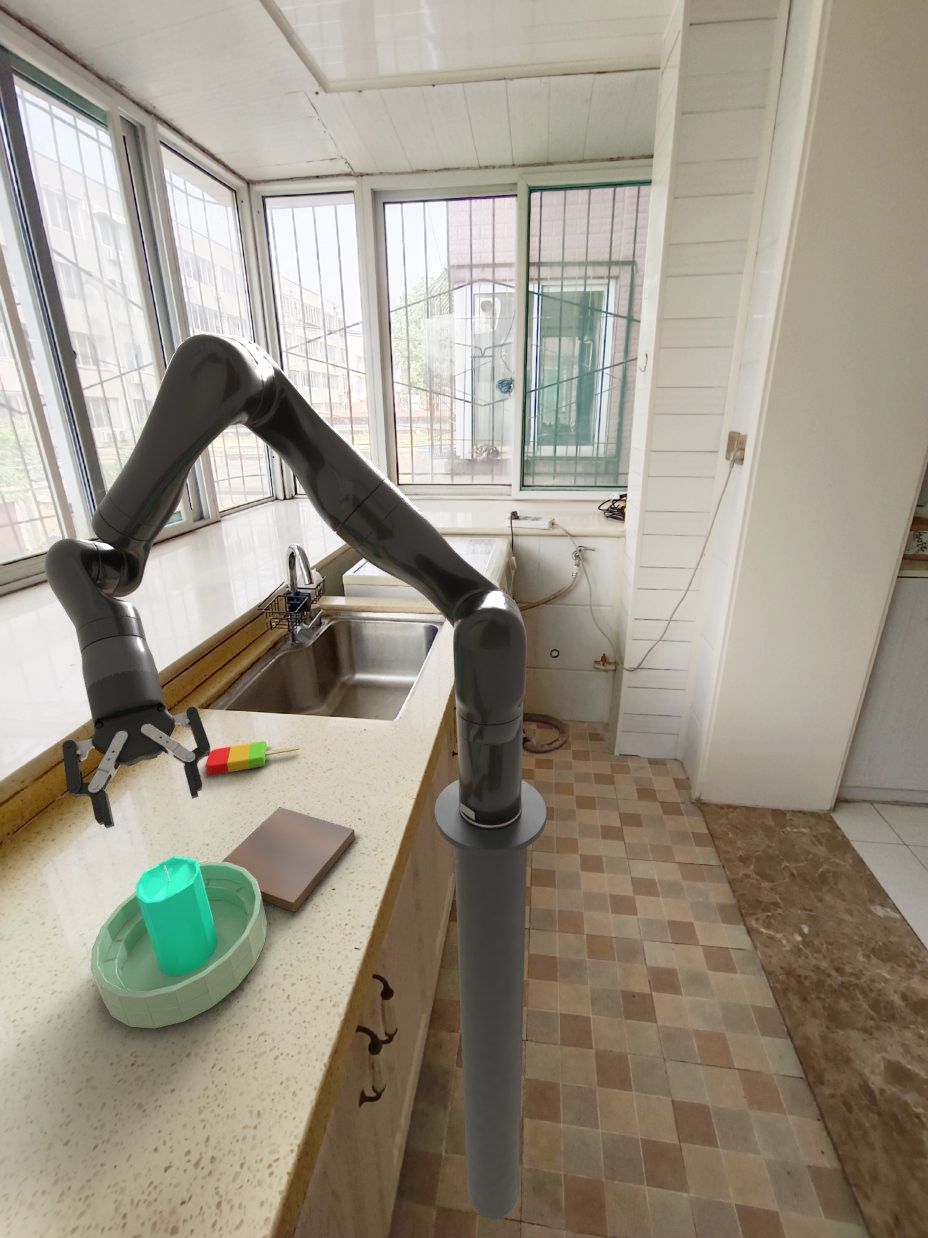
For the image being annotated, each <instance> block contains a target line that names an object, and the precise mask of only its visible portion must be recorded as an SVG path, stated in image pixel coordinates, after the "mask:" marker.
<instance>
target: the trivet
mask: <svg viewBox="0 0 928 1238" xmlns="http://www.w3.org/2000/svg"><path fill="white" fill-rule="evenodd" d="M355 839H356V832H355V829H354V828H352V827H351V828H350V827H348V826H345V825H341V824H337V823H335V822H332V821H329V820H324V819H321V818H318V817H315V816H311V815H308V814H305V813H301V812H298V811H294V810H291V809H288V808H284V807H282V806H279V807H277V809H276V810H275V811H273V812H272V813H271V814H270V815H269V816H268V817H267V818H266V819H265V820H264V821H263V822H262V823H260V825H259V826H258V827H256V828H255V829H254V831H252V832H251V833H249V835H248V836H247V837H246V838H245V839H244V840H243V841H242V842H241V843H240V844H238V846H236V847H235V849H233V850H232V851H231V852H230V853H229V854H228V855H227V856H226V857H225V858H224V859H223V860H222V861H221V862H228V863H231V864H234V865H237V866H239V867H242V868H245V869H246V870H247V871H248V872H249V873H250V874H251V875H252V876H253V877H254V878H255V879H256V880H257V883H258V886H259V890H260V893H261V896H262V901H263V902H267V903H269V904H272V905H274V906H277V907H279V908H283V909H285V910H287V911H290V912H292V913H296V912H297V911H298V910H299V908H300V907H301V906H302V905H303V903H304V902H305V901H306V899H308V897H309V896H310V895H311V893H312V892H313V891H314V890H315V889H316V887H317V886H318V885H319V883H320V882H321V881H322V880H323V879H324V877H325V876H326V875H327V874H328V872H329V871H330V870H331V868H332V867H333V866H334V865H335V864H336V862H337V861H338V860H339V858H340V857H341V856H342V855H343V854H344V853H345V851H346V850H347V849H348V848H349V846H350V845H351V844H352V842H353V841H354V840H355Z"/></svg>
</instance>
